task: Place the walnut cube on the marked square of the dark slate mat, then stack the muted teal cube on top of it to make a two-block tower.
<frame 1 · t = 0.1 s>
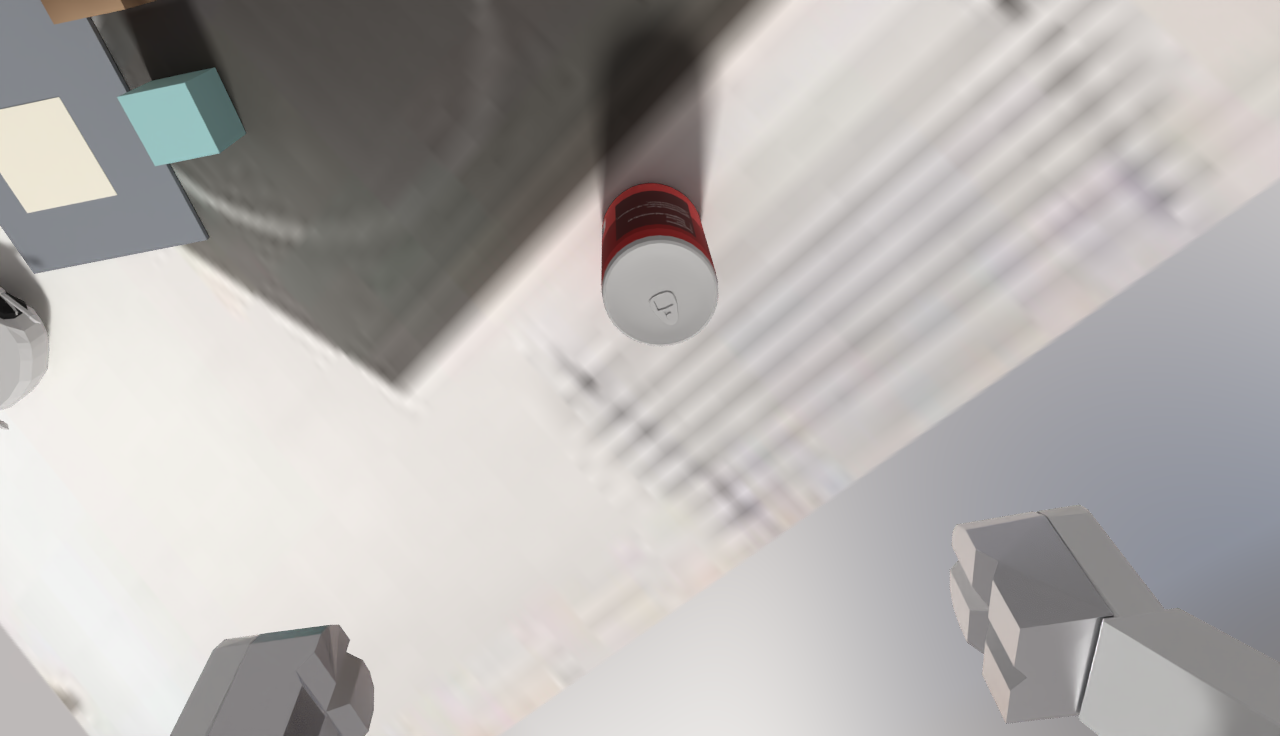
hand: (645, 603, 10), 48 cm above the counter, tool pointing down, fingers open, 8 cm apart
canned food: (651, 227, 59), on the counter
teal block: (200, 107, 52), on the counter
mat: (42, 124, 52), on the counter
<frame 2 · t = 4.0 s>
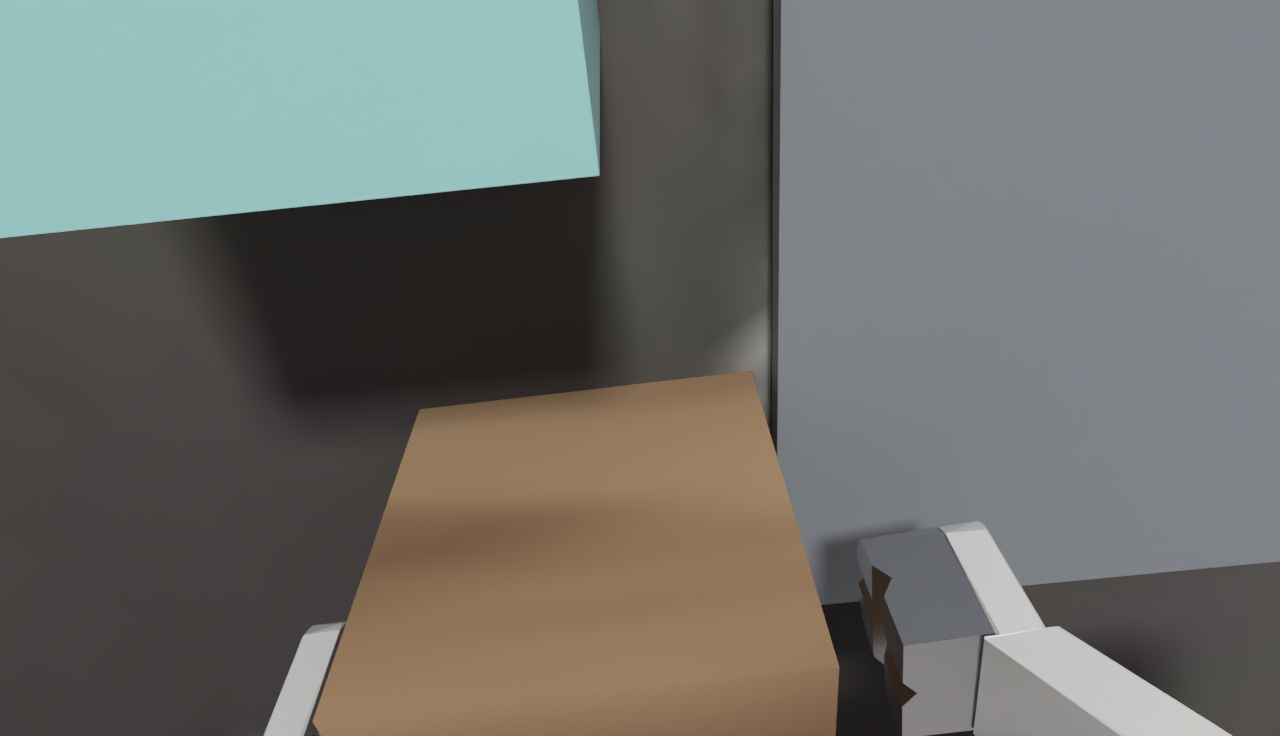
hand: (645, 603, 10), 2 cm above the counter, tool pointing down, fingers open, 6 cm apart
walnut block: (607, 511, 11), on the counter, touching gripper
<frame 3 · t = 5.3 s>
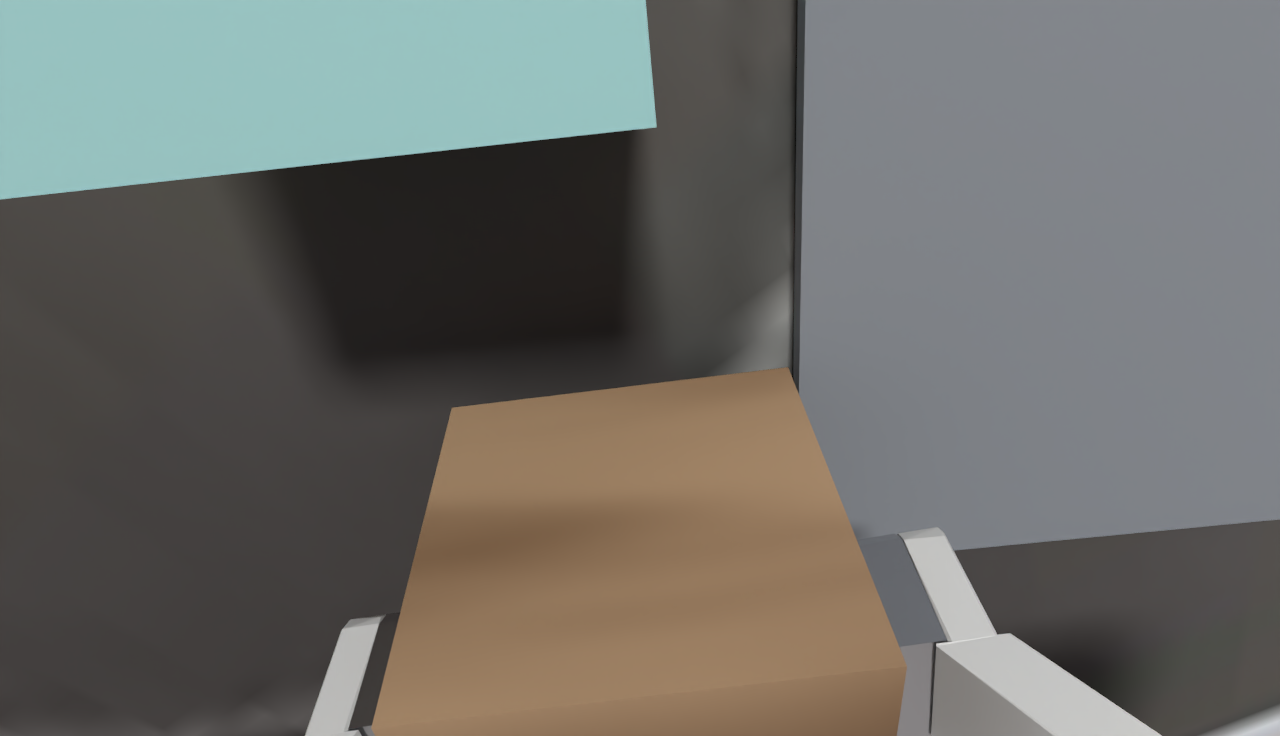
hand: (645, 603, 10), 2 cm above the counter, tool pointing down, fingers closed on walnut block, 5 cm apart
walnut block: (637, 509, 11), point 1 cm above the counter, touching gripper
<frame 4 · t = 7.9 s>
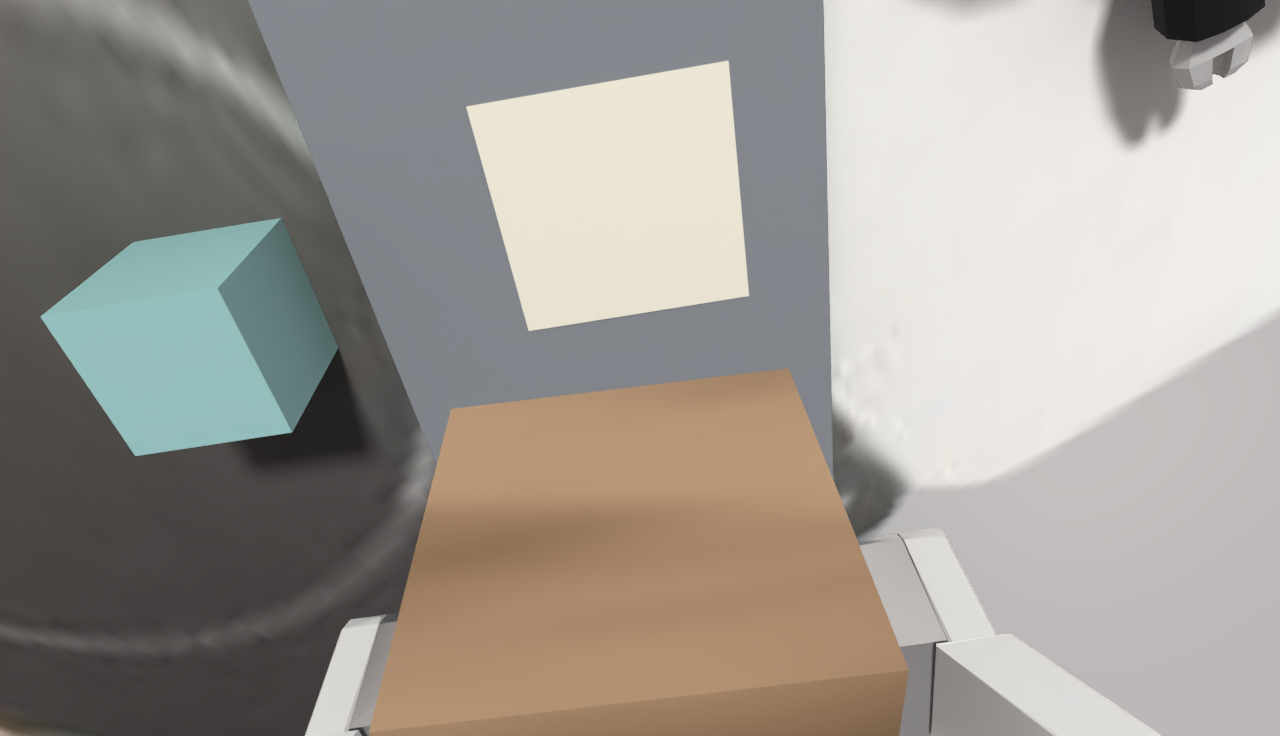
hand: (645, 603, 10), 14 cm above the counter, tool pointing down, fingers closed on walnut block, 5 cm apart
teal block: (241, 296, 23), on the counter
walnut block: (637, 511, 11), point 13 cm above the counter, touching gripper
mat: (597, 269, 23), on the counter
when the fingers open (2 cm above the counter, at t = 10.3 s): walnut block stays where it is, resting on mat.
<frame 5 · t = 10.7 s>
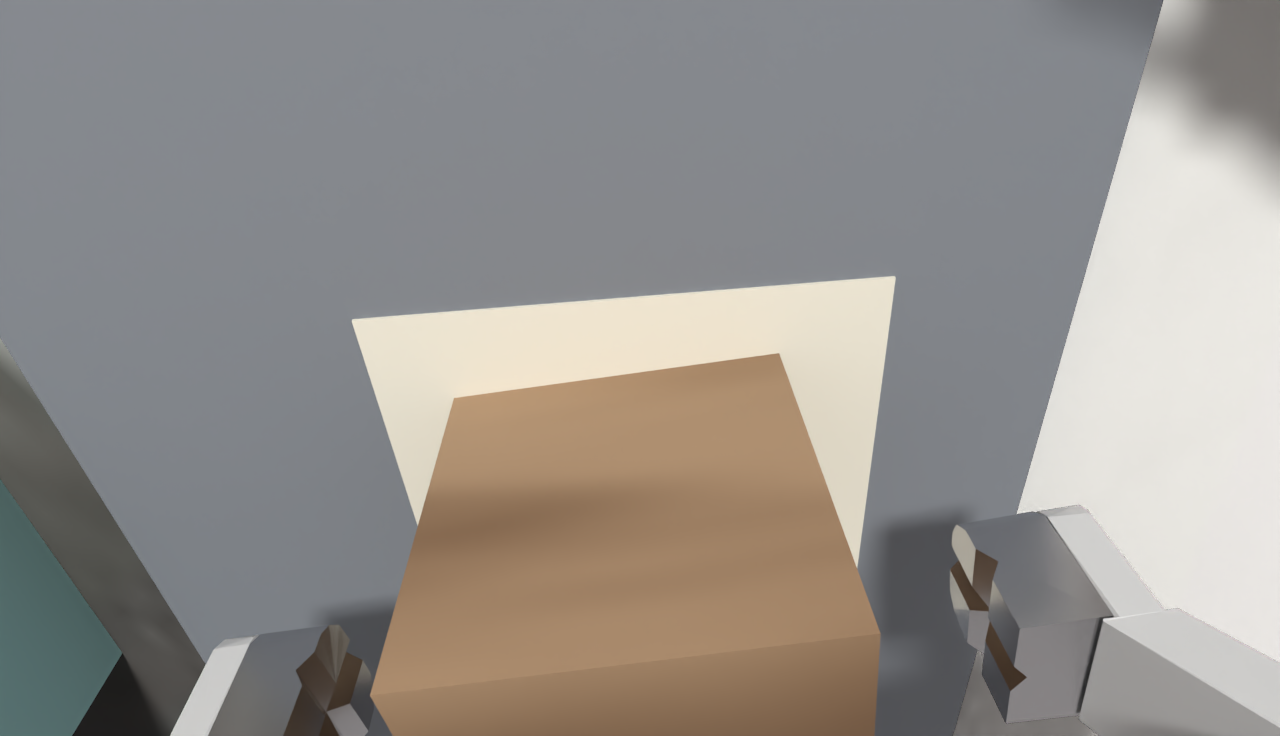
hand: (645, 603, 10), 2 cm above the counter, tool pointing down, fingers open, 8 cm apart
walnut block: (637, 495, 12), resting on mat
mat: (590, 570, 13), on the counter
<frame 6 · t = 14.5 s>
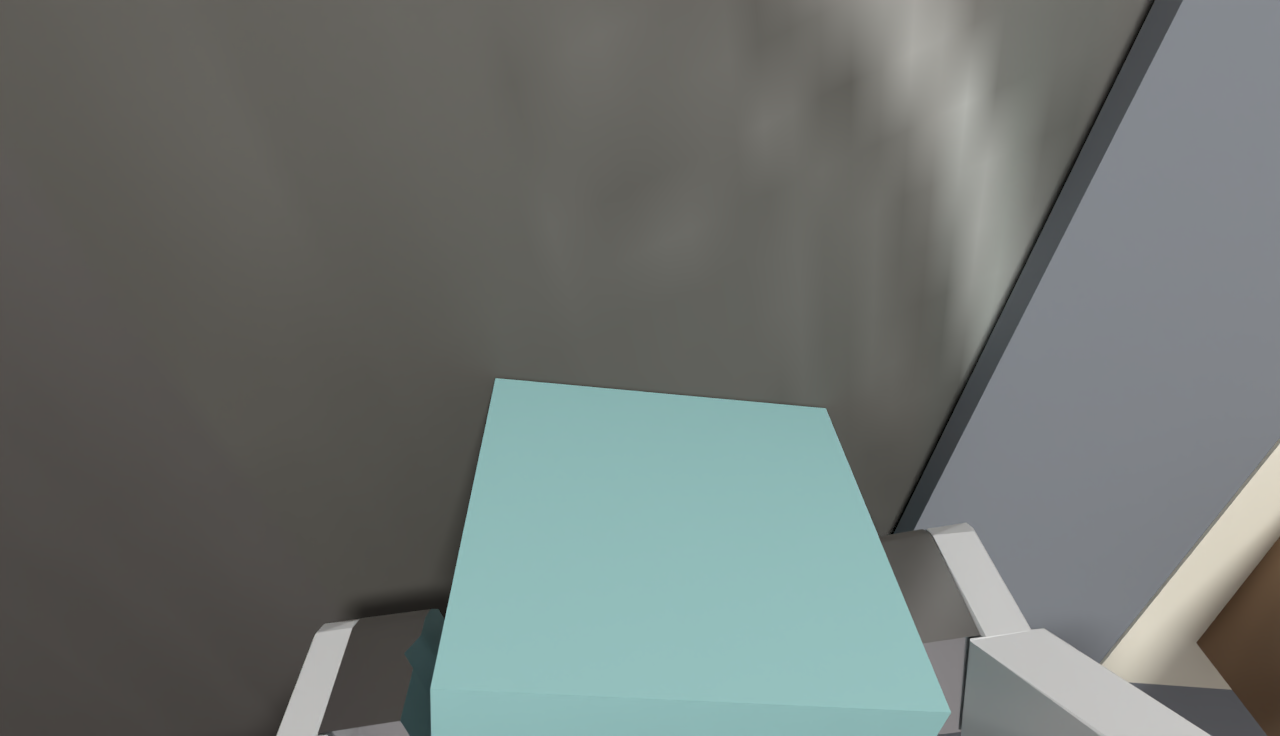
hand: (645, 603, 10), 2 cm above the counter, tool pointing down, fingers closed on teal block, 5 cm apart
teal block: (641, 514, 11), on the counter, touching gripper
mat: (1247, 614, 13), on the counter
when the fingers open (7 cm above the counter, at t = 20.0 s): teal block stays where it is, resting on walnut block.
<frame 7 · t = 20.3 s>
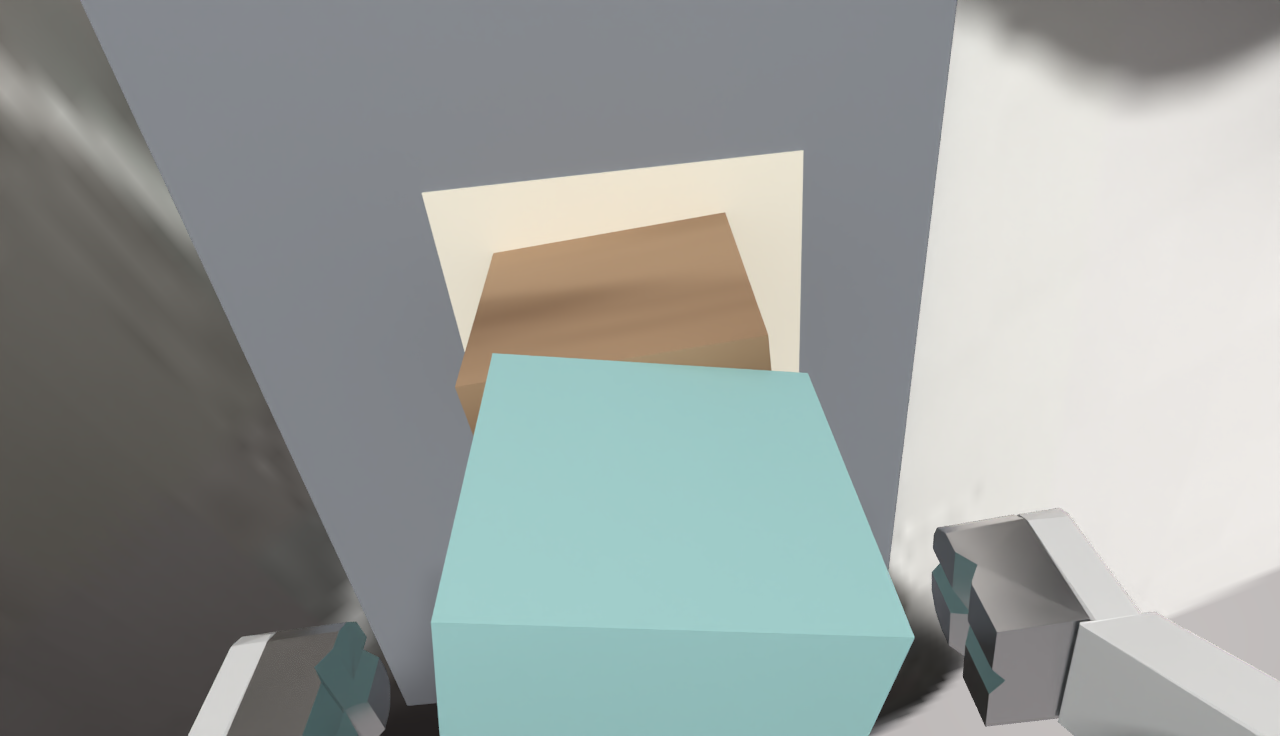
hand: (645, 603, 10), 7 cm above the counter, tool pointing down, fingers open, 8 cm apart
teal block: (637, 482, 12), point 5 cm above the counter, touching walnut block
walnut block: (628, 332, 16), resting on mat, touching teal block
mat: (596, 405, 17), on the counter
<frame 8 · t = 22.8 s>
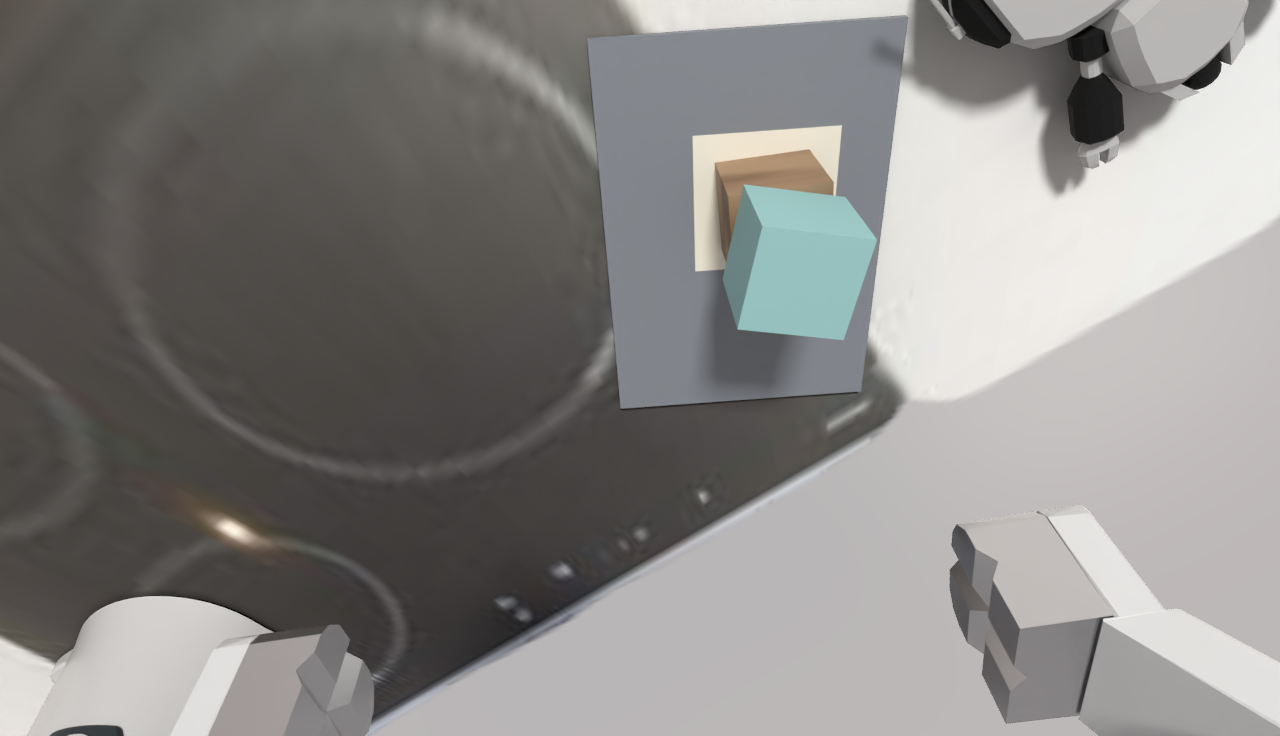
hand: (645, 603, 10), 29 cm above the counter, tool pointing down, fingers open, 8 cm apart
teal block: (782, 239, 33), point 5 cm above the counter, touching walnut block
walnut block: (763, 200, 37), resting on mat, touching teal block
mat: (742, 237, 39), on the counter
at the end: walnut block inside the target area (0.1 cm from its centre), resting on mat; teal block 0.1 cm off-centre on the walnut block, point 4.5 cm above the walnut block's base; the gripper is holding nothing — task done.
